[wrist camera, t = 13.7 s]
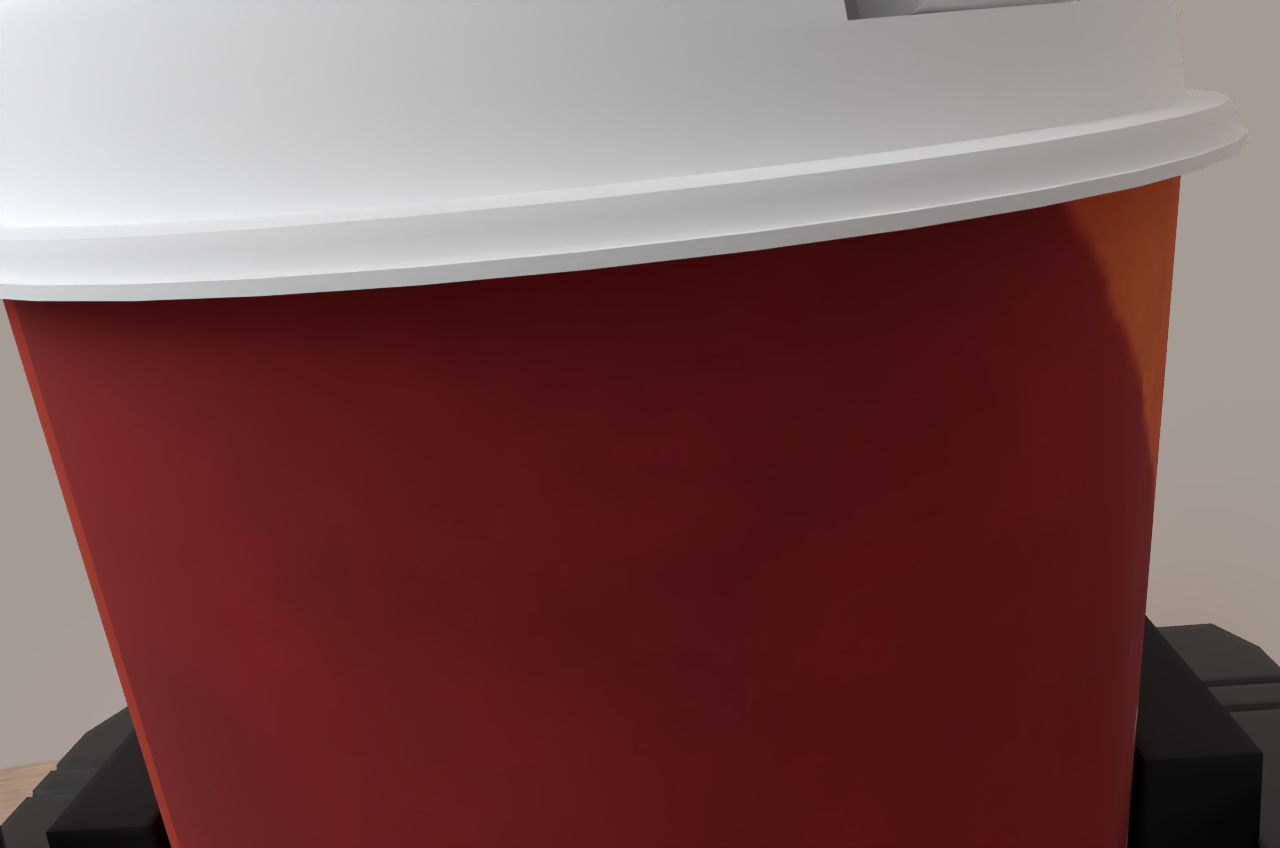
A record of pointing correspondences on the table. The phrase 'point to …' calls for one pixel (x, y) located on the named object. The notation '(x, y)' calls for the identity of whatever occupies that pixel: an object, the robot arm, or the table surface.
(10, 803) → the table surface
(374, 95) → the coffee cup
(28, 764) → the table surface
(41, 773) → the table surface
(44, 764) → the table surface
